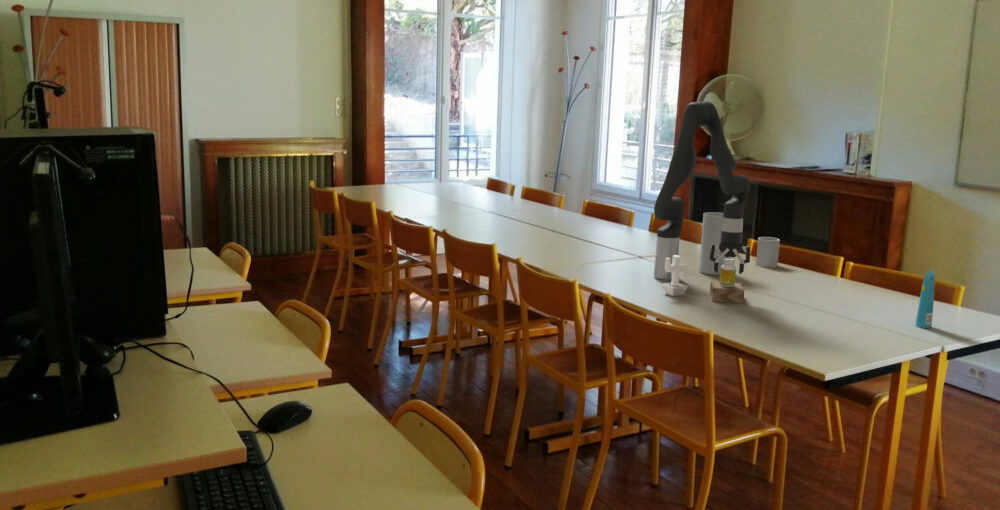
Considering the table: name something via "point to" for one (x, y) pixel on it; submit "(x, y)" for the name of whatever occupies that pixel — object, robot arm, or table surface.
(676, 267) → the figurine
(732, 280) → the supplement bottle
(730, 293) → the walnut block
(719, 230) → the cylinder vase
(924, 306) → the tube
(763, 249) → the cup
